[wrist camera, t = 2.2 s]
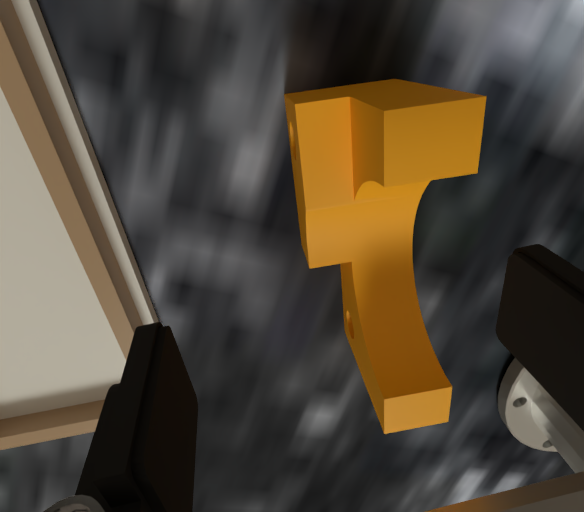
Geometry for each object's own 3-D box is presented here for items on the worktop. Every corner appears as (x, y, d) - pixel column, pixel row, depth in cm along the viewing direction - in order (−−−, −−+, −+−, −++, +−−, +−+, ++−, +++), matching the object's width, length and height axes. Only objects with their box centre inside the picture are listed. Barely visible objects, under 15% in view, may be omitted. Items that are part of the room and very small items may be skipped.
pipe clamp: (283, 93, 15) (312, 121, 9) (393, 78, 15) (486, 96, 10) (311, 334, 21) (340, 442, 15) (390, 321, 21) (448, 421, 15)
